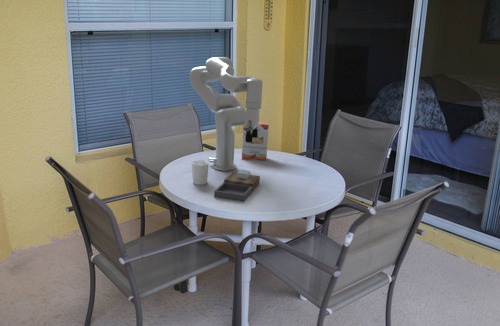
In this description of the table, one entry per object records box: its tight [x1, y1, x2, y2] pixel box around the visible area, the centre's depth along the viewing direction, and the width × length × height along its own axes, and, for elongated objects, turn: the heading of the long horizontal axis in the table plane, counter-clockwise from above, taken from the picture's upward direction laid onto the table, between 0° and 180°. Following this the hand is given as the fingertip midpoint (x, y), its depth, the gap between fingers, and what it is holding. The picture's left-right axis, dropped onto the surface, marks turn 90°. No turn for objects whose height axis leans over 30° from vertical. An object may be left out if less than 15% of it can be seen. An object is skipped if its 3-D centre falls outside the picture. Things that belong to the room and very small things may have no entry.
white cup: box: [191, 160, 210, 186], centre depth 236 cm, size 8×8×10 cm
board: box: [223, 171, 261, 193], centre depth 235 cm, size 14×12×4 cm
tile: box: [236, 169, 251, 179], centre depth 236 cm, size 5×5×2 cm
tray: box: [213, 181, 253, 203], centre depth 223 cm, size 14×12×3 cm
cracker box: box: [241, 121, 270, 161], centre depth 276 cm, size 14×6×21 cm, turn 90°
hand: (251, 139), depth 240 cm, fingers open, 9 cm apart
